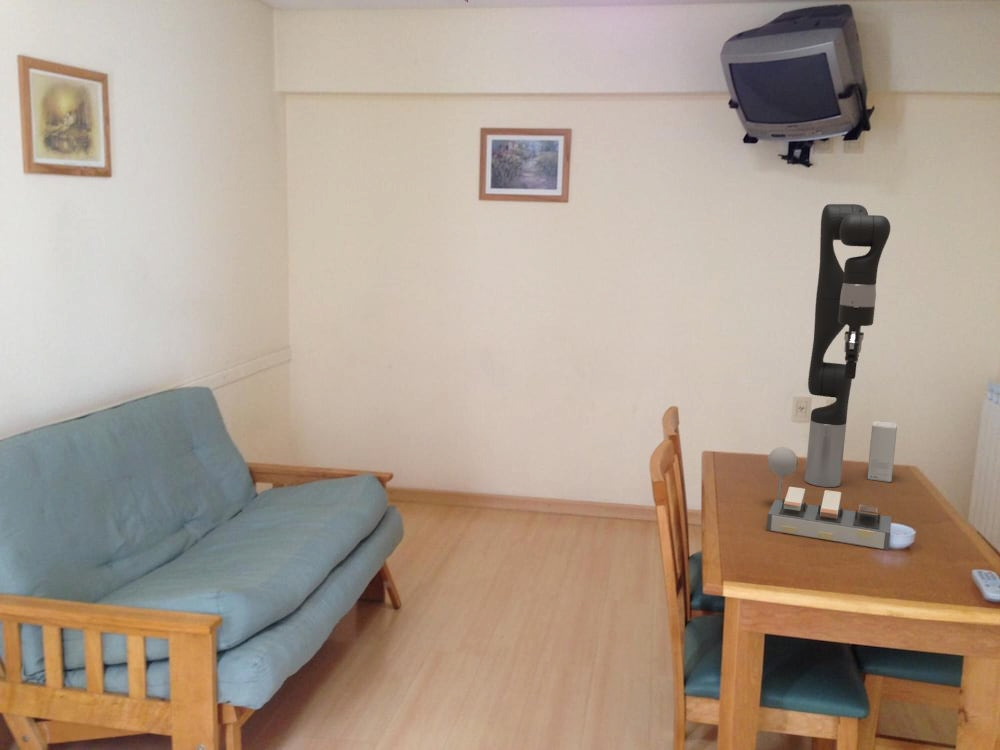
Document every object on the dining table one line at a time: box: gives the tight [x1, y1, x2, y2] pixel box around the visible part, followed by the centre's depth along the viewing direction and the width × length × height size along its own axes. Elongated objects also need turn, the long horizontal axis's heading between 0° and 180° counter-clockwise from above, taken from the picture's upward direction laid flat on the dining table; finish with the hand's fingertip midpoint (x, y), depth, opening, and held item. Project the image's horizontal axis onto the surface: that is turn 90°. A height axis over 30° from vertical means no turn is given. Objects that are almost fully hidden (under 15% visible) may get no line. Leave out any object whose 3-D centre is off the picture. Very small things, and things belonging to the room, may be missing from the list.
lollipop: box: [767, 446, 799, 501], centre depth 226 cm, size 7×7×15 cm
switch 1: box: [784, 486, 806, 511], centre depth 211 cm, size 9×4×1 cm, turn 155°
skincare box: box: [867, 420, 898, 483], centre depth 254 cm, size 8×7×16 cm
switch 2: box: [820, 489, 842, 519], centre depth 208 cm, size 9×4×1 cm, turn 155°
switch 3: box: [858, 504, 878, 515], centre depth 205 cm, size 9×4×1 cm, turn 156°
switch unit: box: [766, 498, 892, 551], centre depth 208 cm, size 12×26×6 cm, turn 66°
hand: (849, 378), depth 210 cm, fingers closed
